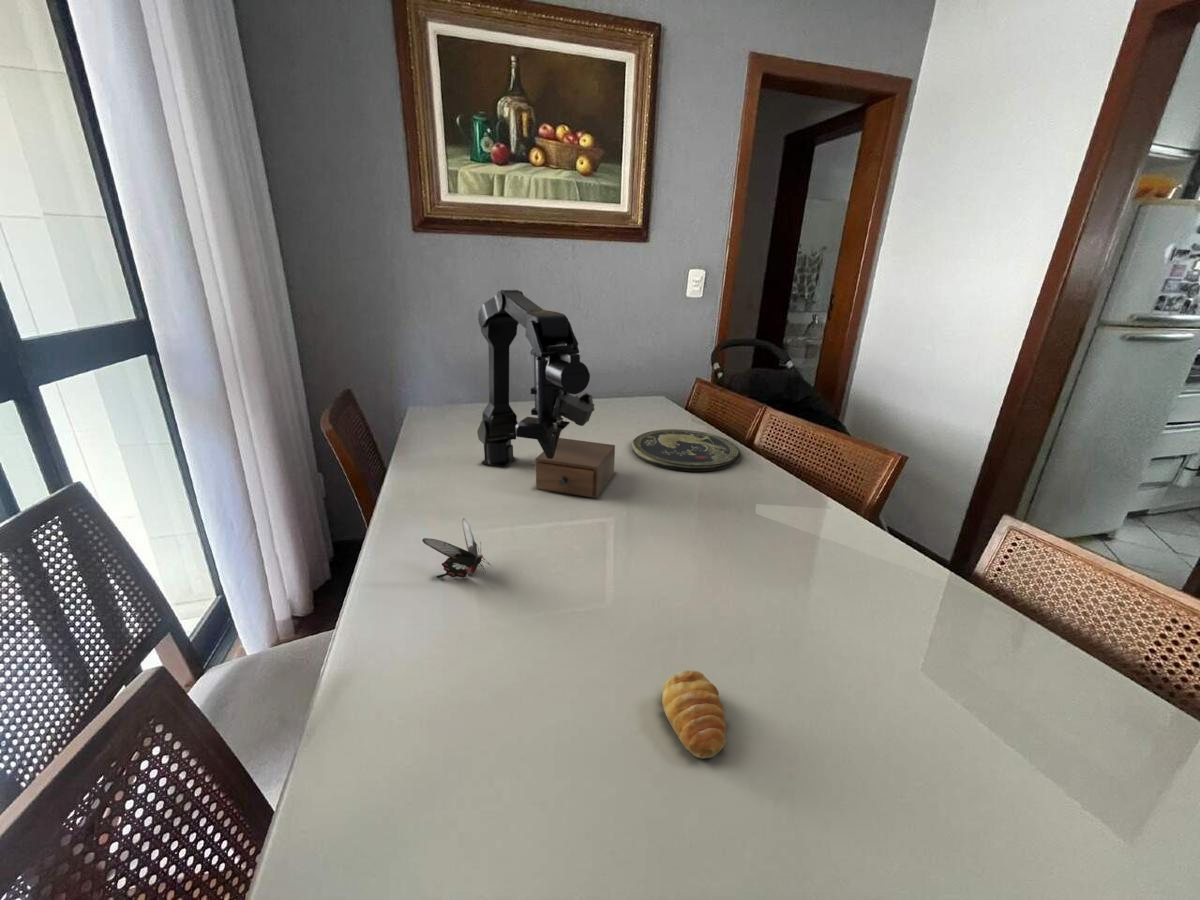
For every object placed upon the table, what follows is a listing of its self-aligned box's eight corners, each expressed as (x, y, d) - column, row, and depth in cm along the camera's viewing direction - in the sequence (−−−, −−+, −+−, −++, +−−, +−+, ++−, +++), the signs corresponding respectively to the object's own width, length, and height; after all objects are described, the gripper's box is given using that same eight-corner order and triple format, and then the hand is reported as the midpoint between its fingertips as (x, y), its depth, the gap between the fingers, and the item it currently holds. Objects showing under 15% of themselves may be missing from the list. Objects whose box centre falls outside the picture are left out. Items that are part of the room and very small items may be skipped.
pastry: (739, 758, 52) (744, 733, 51) (679, 767, 51) (681, 741, 50) (708, 687, 61) (711, 663, 59) (656, 693, 60) (658, 669, 58)
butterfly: (447, 598, 81) (416, 547, 82) (490, 570, 86) (460, 522, 86) (455, 593, 72) (420, 536, 73) (503, 562, 76) (469, 508, 77)
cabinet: (596, 498, 108) (597, 467, 105) (536, 488, 112) (535, 458, 109) (614, 473, 121) (615, 445, 119) (559, 465, 125) (559, 437, 122)
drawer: (590, 499, 106) (591, 474, 104) (534, 489, 109) (533, 466, 107) (609, 473, 119) (610, 451, 117) (558, 465, 123) (558, 444, 121)
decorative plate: (750, 469, 121) (630, 461, 123) (749, 476, 122) (629, 468, 124) (731, 431, 149) (633, 426, 151) (730, 437, 150) (633, 431, 152)
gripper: (572, 398, 82) (571, 482, 88) (604, 376, 99) (602, 447, 104) (512, 391, 85) (515, 473, 91) (553, 371, 102) (553, 441, 107)
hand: (550, 458), depth 98 cm, fingers closed
